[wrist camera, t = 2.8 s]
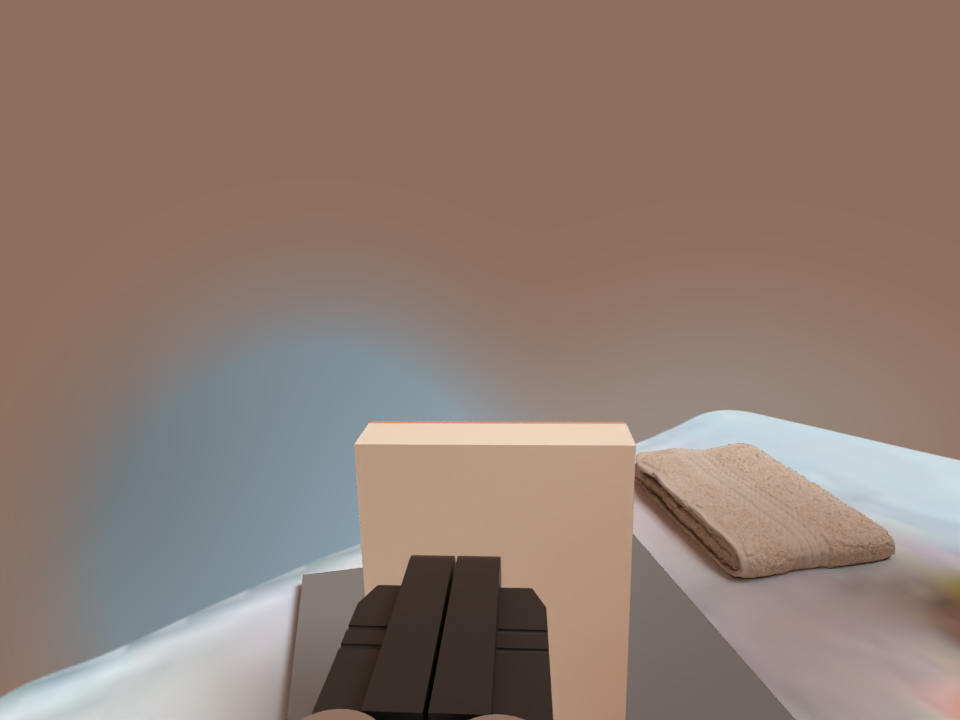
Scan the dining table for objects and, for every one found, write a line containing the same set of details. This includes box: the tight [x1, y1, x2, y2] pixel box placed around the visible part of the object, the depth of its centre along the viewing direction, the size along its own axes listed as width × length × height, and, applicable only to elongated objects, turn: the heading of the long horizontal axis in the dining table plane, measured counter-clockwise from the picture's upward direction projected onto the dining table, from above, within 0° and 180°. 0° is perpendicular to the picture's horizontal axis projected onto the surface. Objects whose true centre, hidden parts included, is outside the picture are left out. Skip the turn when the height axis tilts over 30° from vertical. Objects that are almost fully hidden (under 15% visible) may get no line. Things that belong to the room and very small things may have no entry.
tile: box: [354, 422, 636, 720], centre depth 26 cm, size 10×2×14 cm, turn 86°
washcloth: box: [635, 443, 895, 578], centre depth 50 cm, size 12×18×3 cm, turn 11°
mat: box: [286, 535, 795, 720], centre depth 34 cm, size 22×18×1 cm
